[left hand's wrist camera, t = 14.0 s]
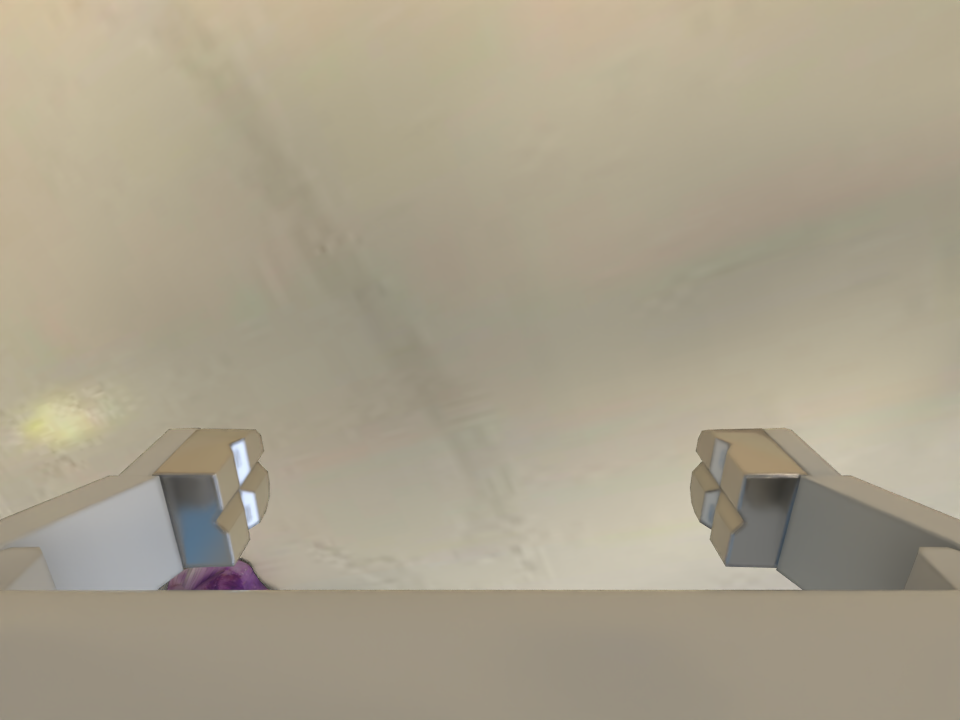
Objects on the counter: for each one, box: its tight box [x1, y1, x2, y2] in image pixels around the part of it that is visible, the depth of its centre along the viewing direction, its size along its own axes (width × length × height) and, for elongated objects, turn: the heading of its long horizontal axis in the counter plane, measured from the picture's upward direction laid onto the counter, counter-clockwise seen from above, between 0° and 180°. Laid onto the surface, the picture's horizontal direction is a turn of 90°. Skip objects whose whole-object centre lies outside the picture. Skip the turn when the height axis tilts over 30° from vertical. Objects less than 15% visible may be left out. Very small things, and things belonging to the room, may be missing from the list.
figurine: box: [167, 559, 269, 590], centre depth 44 cm, size 9×10×15 cm
